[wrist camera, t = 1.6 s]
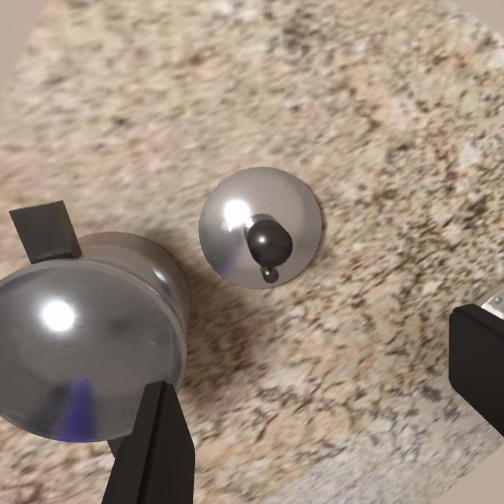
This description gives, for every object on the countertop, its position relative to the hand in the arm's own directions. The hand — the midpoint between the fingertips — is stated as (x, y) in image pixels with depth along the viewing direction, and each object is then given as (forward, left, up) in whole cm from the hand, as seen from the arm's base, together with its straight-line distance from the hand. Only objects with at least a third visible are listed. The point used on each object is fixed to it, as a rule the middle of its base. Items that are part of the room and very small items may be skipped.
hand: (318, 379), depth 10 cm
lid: (-1, 0, -20) cm, 20 cm away
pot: (+13, +4, -19) cm, 24 cm away
